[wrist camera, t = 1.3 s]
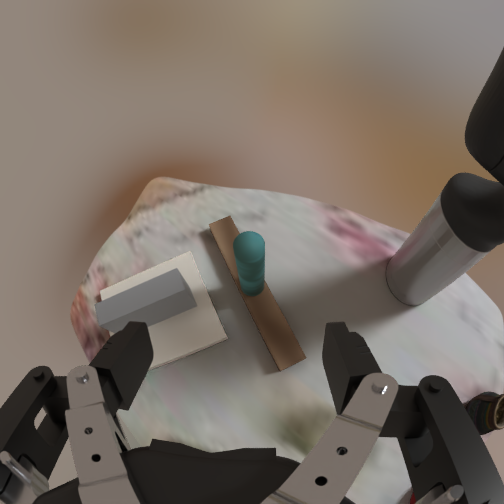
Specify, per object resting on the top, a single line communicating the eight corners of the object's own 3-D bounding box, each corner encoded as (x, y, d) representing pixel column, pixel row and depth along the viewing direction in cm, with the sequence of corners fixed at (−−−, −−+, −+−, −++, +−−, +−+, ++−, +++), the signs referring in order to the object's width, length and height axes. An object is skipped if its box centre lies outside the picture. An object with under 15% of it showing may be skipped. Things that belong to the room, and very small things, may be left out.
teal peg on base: (231, 222, 45) (221, 165, 33) (303, 359, 34) (325, 343, 22) (210, 231, 44) (194, 175, 32) (279, 371, 33) (289, 363, 22)
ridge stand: (192, 255, 42) (179, 226, 35) (228, 338, 35) (219, 325, 28) (104, 294, 39) (77, 273, 32) (127, 378, 33) (97, 372, 26)
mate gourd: (452, 414, 27) (494, 411, 18) (478, 383, 28) (519, 373, 20) (465, 443, 24) (505, 444, 15) (490, 412, 25) (530, 406, 16)
